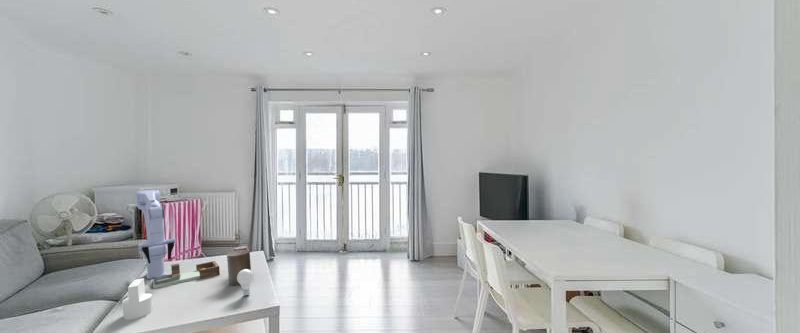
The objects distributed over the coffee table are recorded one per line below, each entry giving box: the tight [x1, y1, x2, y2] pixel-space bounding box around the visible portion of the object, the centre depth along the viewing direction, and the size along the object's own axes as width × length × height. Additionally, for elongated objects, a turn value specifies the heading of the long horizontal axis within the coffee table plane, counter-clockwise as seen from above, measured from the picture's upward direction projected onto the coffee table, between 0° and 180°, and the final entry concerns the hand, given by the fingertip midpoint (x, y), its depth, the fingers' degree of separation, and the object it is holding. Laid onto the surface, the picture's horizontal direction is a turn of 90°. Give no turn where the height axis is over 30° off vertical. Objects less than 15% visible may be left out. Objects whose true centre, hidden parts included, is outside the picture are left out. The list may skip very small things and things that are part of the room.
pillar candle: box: [226, 249, 252, 286], centre depth 162 cm, size 10×10×15 cm
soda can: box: [233, 244, 250, 251], centre depth 174 cm, size 7×7×13 cm
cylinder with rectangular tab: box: [121, 278, 154, 320], centre depth 133 cm, size 9×9×12 cm
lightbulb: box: [237, 269, 255, 297], centre depth 146 cm, size 6×6×11 cm
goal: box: [195, 260, 220, 279], centre depth 176 cm, size 12×8×4 cm
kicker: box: [170, 262, 181, 278], centre depth 168 cm, size 5×3×6 cm, turn 38°
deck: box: [152, 270, 200, 289], centre depth 168 cm, size 10×19×1 cm, turn 128°
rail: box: [153, 273, 179, 285], centre depth 165 cm, size 8×10×1 cm
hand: (159, 261), depth 165 cm, fingers open, 7 cm apart
